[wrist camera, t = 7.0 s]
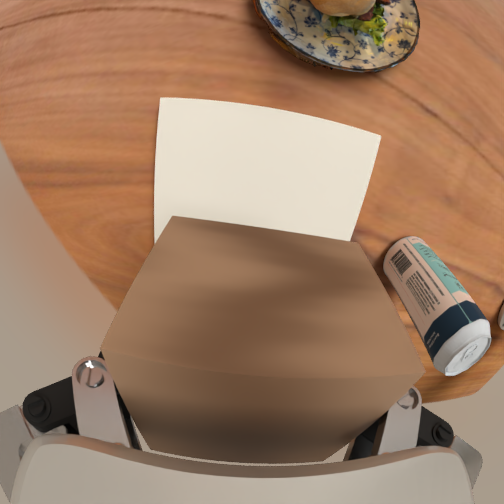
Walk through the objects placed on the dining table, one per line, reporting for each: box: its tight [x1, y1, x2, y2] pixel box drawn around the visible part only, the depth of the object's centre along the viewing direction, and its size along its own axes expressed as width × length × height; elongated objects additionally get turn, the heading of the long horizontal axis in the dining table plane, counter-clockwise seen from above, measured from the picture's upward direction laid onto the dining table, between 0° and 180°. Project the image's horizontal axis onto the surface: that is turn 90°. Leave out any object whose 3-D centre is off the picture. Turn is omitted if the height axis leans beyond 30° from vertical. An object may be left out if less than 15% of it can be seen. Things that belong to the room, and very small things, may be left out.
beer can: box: [383, 236, 491, 376], centre depth 17 cm, size 5×5×12 cm
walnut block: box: [100, 216, 426, 464], centre depth 9 cm, size 7×7×6 cm
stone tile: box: [154, 98, 381, 243], centre depth 20 cm, size 15×15×1 cm
